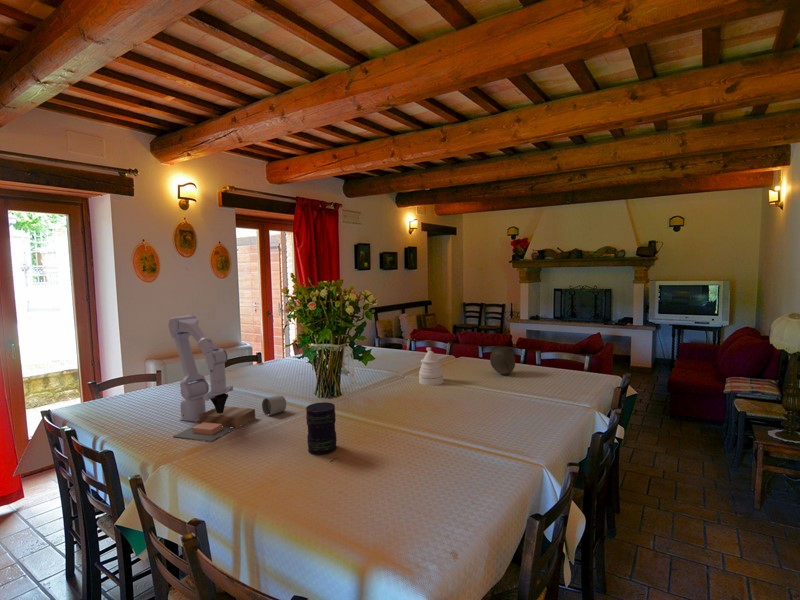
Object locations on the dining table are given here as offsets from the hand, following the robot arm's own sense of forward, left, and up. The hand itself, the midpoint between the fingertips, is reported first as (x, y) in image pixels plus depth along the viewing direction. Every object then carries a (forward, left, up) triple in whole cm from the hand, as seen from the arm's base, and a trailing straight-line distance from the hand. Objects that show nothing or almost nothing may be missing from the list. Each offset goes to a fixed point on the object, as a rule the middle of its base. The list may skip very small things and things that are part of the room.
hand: (220, 412), depth 176 cm
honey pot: (+67, +81, -5) cm, 105 cm away
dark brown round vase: (+102, +105, -5) cm, 147 cm away
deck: (0, +4, -5) cm, 6 cm away
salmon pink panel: (0, -8, -3) cm, 8 cm away
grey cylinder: (+12, +18, -5) cm, 22 cm away
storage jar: (+52, -11, -5) cm, 53 cm away
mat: (0, -9, -5) cm, 10 cm away
